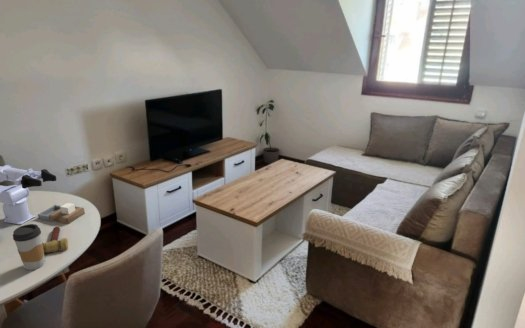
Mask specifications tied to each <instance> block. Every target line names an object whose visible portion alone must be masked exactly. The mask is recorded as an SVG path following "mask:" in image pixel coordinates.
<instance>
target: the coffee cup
mask: <svg viewBox="0 0 525 328" xmlns="http://www.w3.org/2000/svg"><path fill="white" fill-rule="evenodd" d="M41 234H42V230H41V228H40V226H38V225H37V224H33V223H28V224H24V225H20V226H19V227H17V228H15V229H14V230H13V234H12V239H13V241H14V243H15V247H16V248H17V251H18V254H19V257H20V260H21V261H22V262H21V263H23V267H24V268H25V269H26V270H28V271H33V270H38V269H40V268H41V267H43V266H44V265H45V262H46V258H45V253H44V249H43V243H44V242H43V240H42V239H43V238H42V235H41ZM42 242H43V243H42Z"/></svg>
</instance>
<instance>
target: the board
mask: <svg viewBox="0 0 525 328" xmlns="http://www.w3.org/2000/svg"><path fill="white" fill-rule="evenodd" d="M85 214H86V212H85V208H84V207H82V206H75V211H73V212H72V213H70V214H64V213H61V208H60V209H59V210H57V211H55V212H53V213H52V214H50V215H49V217H50V221H49V222H55V223H62V224H67V225H69V224H71V223H72V222H74V221H76V220H78V219H79V218H80V217H81V216H84V215H85Z"/></svg>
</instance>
